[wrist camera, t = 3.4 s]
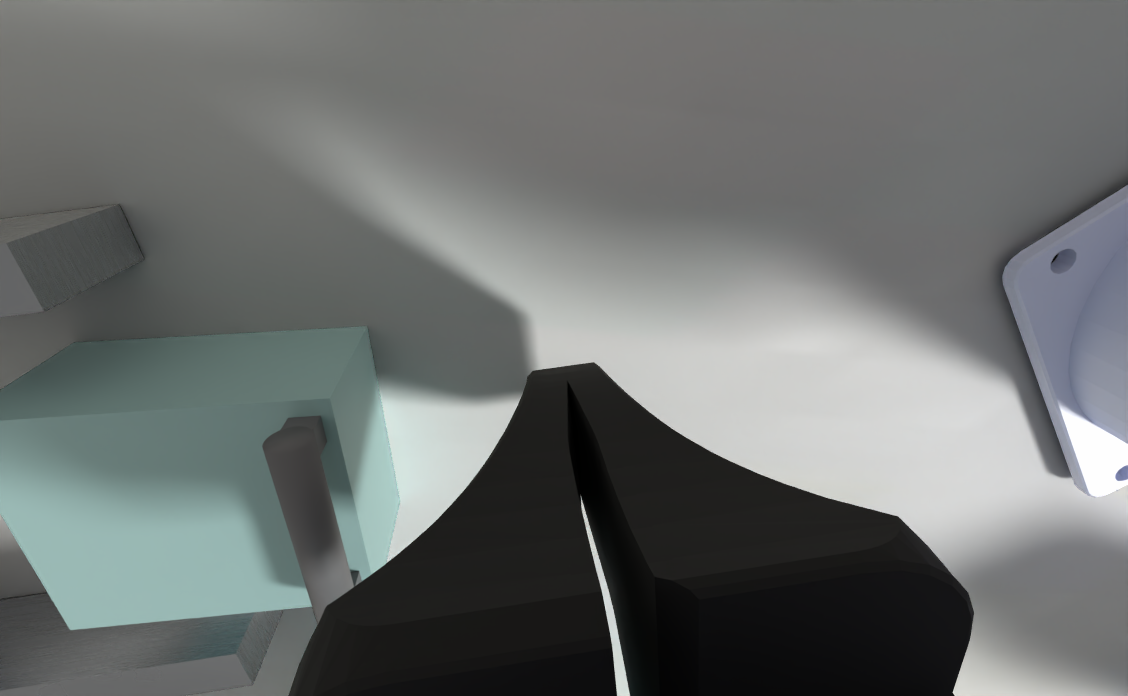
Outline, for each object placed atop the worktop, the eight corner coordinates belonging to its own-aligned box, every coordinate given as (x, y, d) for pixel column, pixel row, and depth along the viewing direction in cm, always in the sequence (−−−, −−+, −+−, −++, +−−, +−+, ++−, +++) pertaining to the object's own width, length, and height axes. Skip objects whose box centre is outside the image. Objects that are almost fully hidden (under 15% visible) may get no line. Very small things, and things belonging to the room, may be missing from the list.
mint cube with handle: (369, 321, 11) (309, 437, 8) (401, 494, 13) (366, 650, 10) (80, 338, 11) (-124, 469, 7) (159, 515, 13) (27, 686, 9)
